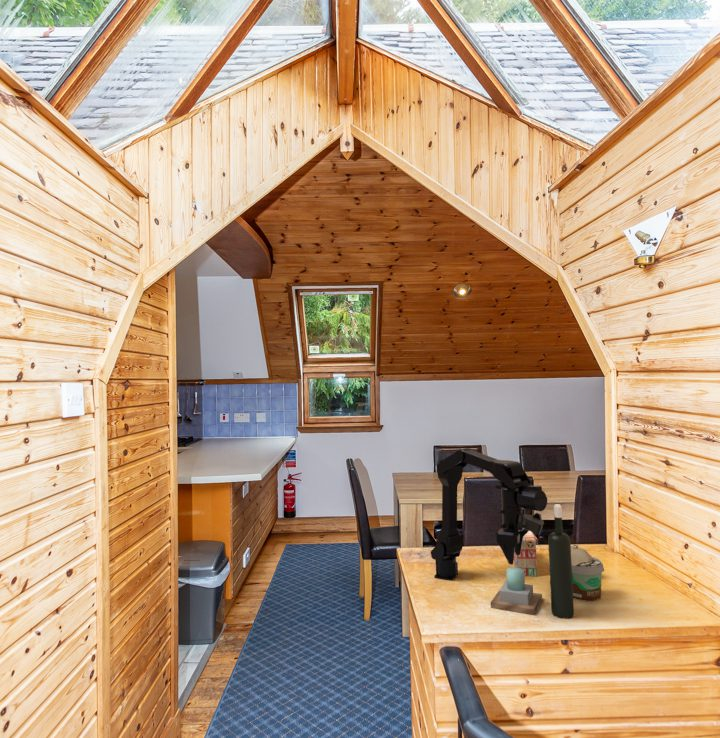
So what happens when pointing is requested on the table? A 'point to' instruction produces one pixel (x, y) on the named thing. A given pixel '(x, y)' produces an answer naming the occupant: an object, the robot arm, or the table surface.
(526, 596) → the grey square block
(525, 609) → the tower base slab
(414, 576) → the table surface
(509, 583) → the teal round block
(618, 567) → the table surface
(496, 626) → the table surface
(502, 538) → the robot arm
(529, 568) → the stack of blocks
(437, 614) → the table surface
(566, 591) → the wine bottle
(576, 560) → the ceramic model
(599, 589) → the food container
